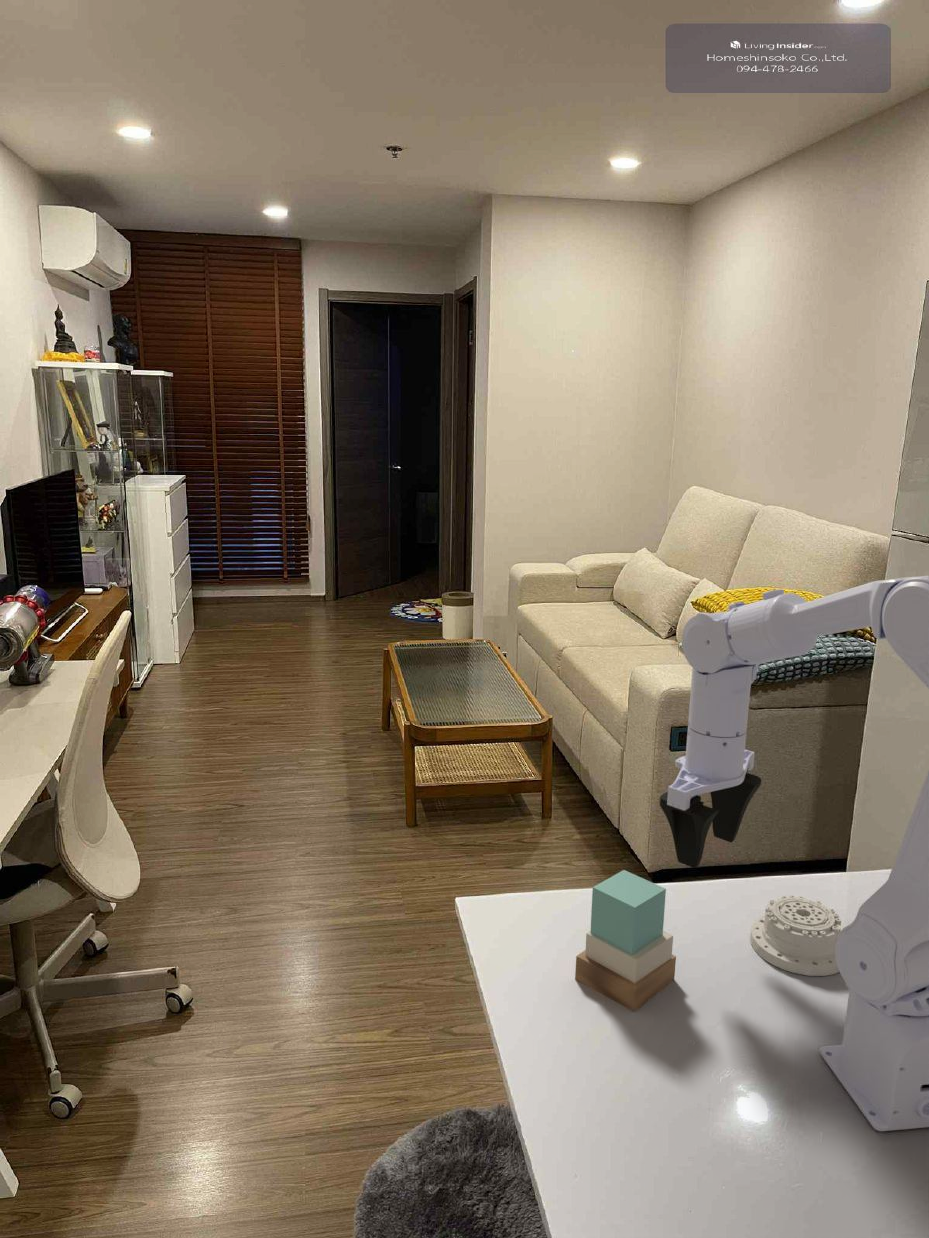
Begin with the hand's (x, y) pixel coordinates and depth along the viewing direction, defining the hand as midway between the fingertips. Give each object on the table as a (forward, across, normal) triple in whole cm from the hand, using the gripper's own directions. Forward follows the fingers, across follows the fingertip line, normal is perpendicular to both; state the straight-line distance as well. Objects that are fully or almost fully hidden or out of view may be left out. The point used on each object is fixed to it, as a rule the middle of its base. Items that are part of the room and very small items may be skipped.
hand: (706, 850), depth 97 cm
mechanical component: (+11, -6, +8) cm, 15 cm away
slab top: (+8, +11, -2) cm, 14 cm away
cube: (+5, +12, -2) cm, 13 cm away
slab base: (+11, +11, -2) cm, 16 cm away
